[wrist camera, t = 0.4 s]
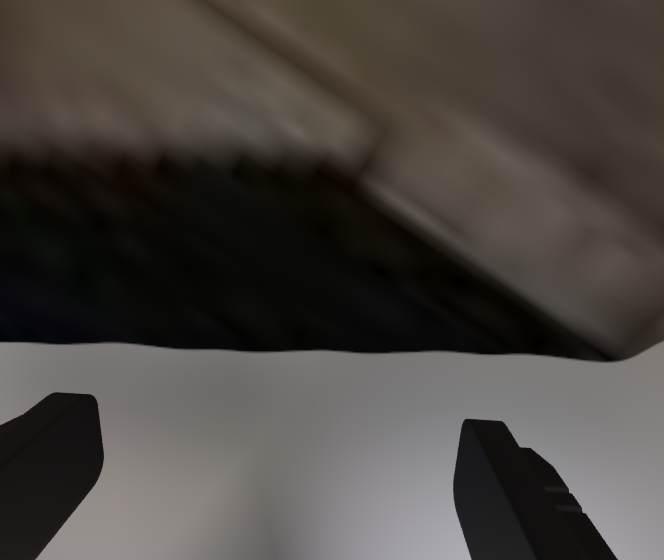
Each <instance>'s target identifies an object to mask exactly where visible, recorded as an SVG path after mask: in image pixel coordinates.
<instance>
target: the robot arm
mask: <svg viewBox="0 0 664 560" xmlns="http://www.w3.org/2000/svg"><path fill="white" fill-rule="evenodd" d="M103 461H104V451H103V443H102V436H101V428H100V419H99V411H98V404H97V401H96V399H95V397H94V396H92V395H90V394H74V393H58V392H56V393H52V394H50V395H49V396H47V397H45V398H44V399H43V400H41V401H40V402H39V403H38V404H36V405H35V406H34V407H32V408H31V409H30V410H28V411H27V412H26V413H24V414H23V415H21V416H19V417H17V418H14V419H12V420H10V421H8V422H6V423H4V424H2V425H0V560H35V559H36V558H37V557H38V556H39V554H40V553H41V552H42V551H43V549H44V548H45V547H46V545H47V544H48V543H49V542H50V541H51V539H52V538H53V537H54V536H55V534H56V533H57V532H58V530H59V529H60V528H61V527H62V526H63V524H64V523H65V522H66V521H67V519H68V518H69V517H70V516H71V514H72V513H73V512H74V511H75V509H76V508H77V507H78V505H79V504H80V503H81V502H82V500H83V499H84V498H85V497H86V495H87V494H88V493H89V492H90V490H91V489H92V488H93V487H94V485H95V484H96V482H97V480H98V478H99V476H100V473H101V470H102V467H103ZM453 482H454V483H453V493H454V502H455V508H456V512H457V515H458V518H459V521H460V525H461V528H462V530H463V534H464V537H465V540H466V543H467V547H468V550H469V553H470V556H471V559H472V560H618V559H617V558H616V556H615V555H614V554H613V552H612V551H611V549H610V548H609V547H608V545H607V544H606V542H605V541H604V539H603V538H602V536H601V535H600V533H599V532H598V531H597V529H596V528H595V526H594V525H593V523H592V522H591V521H590V519H589V518H588V516H587V515H586V514H585V513H583V512H582V507H581V506H580V505H579V503H578V502H577V500H576V499H575V497H574V496H573V494H571V493H569V489H568V487H567V486H566V484H565V483H564V481H563V480H562V479H561V477H560V476H559V474H558V473H557V471H556V470H555V468H554V467H553V466H552V465H551V464H549V463H548V462H547V461H546V460H544V459H543V458H542V457H541V456H540V455H538V454H537V453H536V452H535V451H533V450H532V449H531V448H521V447H519V445H518V444H517V442H516V441H515V439H514V437H513V436H512V434H511V432H510V431H509V429H508V428H507V426H506V425H505V423H504V422H502V421H493V420H477V419H465V420H464V422H463V424H462V428H461V434H460V441H459V447H458V454H457V460H456V468H455V473H454V481H453Z"/></svg>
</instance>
